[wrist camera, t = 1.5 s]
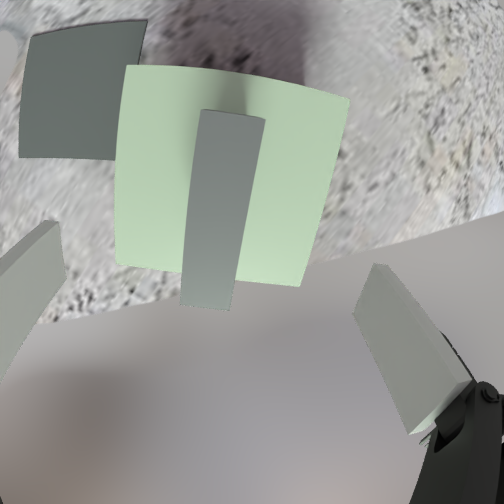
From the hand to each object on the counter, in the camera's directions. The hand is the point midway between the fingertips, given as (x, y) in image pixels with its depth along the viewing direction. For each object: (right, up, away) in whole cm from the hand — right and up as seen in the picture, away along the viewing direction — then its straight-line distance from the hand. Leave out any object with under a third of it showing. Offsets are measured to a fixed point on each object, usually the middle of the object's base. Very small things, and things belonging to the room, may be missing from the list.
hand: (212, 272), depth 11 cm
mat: (-21, +21, +16) cm, 34 cm away
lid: (-1, +7, +11) cm, 13 cm away
